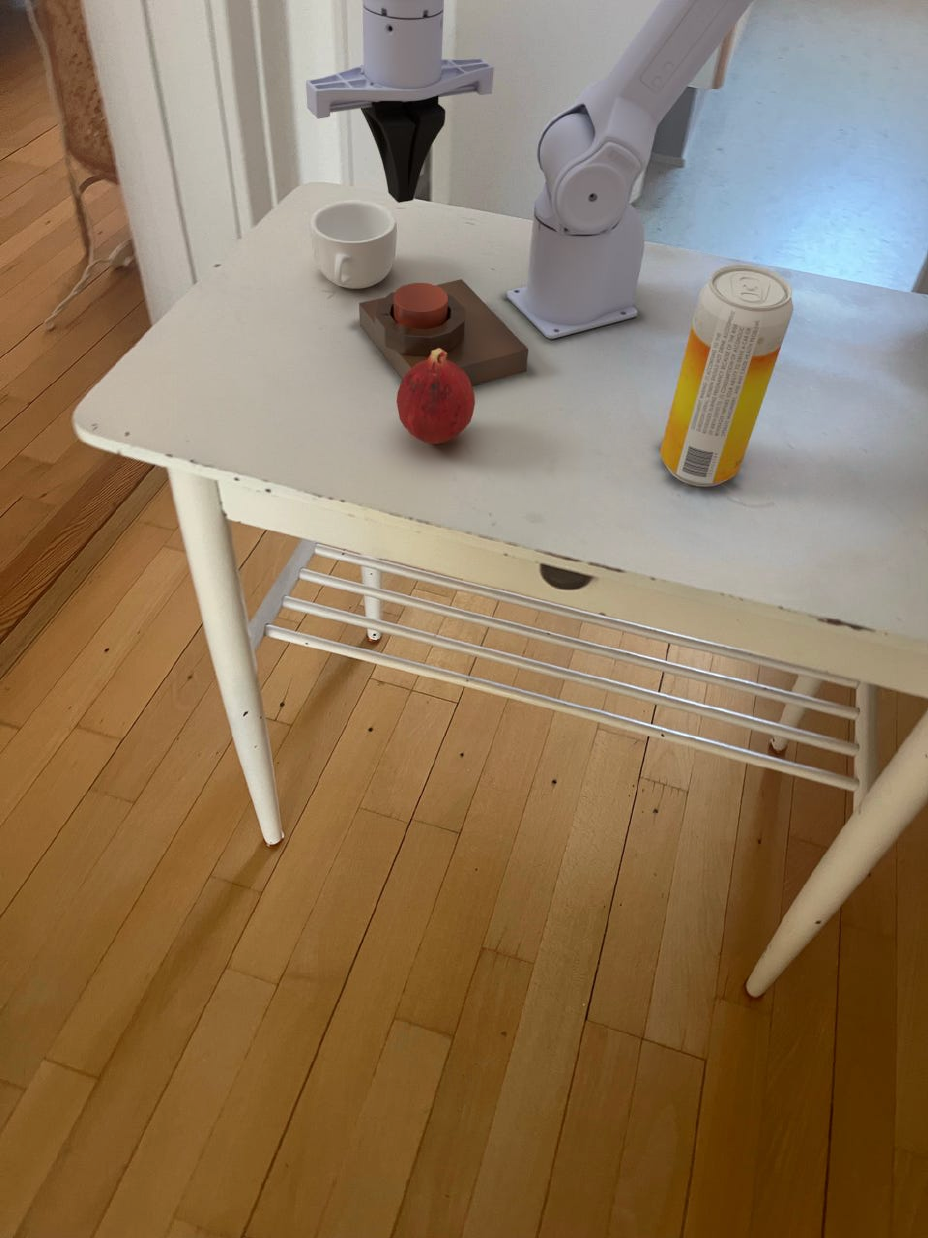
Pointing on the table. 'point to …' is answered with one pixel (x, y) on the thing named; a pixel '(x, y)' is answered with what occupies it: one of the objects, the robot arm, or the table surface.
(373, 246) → the teacup
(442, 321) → the button
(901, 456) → the table surface
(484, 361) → the button box
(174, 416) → the table surface
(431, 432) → the red fruit
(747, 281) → the beer can
